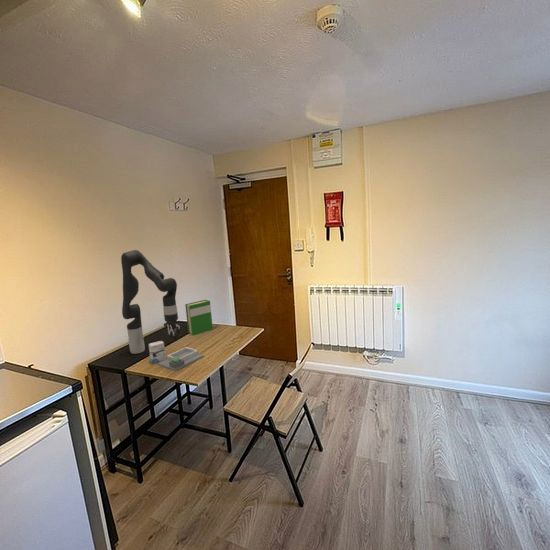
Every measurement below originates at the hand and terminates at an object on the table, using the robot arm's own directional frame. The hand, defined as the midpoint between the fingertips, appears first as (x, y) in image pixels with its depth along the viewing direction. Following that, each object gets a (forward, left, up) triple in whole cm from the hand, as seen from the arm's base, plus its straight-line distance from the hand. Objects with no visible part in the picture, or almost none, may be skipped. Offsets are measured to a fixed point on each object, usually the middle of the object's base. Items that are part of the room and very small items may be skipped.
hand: (173, 340), depth 179 cm
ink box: (-19, 0, -17) cm, 26 cm away
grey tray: (-5, +7, -17) cm, 19 cm away
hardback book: (-36, +50, -17) cm, 64 cm away
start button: (0, 0, -14) cm, 14 cm away
